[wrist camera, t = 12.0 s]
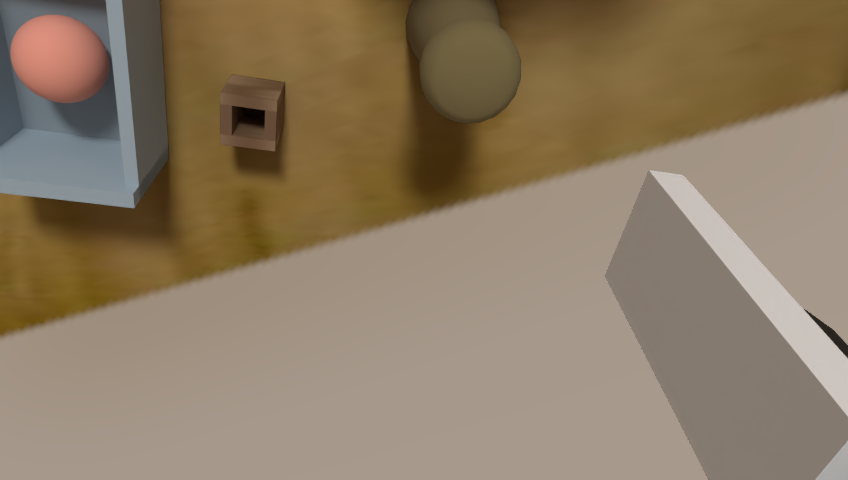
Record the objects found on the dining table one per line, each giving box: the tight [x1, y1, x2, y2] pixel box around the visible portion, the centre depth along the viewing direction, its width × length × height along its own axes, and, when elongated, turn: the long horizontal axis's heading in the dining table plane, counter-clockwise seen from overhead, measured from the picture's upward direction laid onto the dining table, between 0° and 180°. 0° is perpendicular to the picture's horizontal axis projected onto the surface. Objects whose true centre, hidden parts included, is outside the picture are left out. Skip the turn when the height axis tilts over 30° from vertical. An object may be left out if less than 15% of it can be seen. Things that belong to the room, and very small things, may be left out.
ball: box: [10, 15, 109, 103], centre depth 36 cm, size 5×5×5 cm
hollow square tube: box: [220, 75, 285, 151], centre depth 39 cm, size 3×3×4 cm
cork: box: [406, 0, 521, 124], centre depth 34 cm, size 6×6×11 cm
